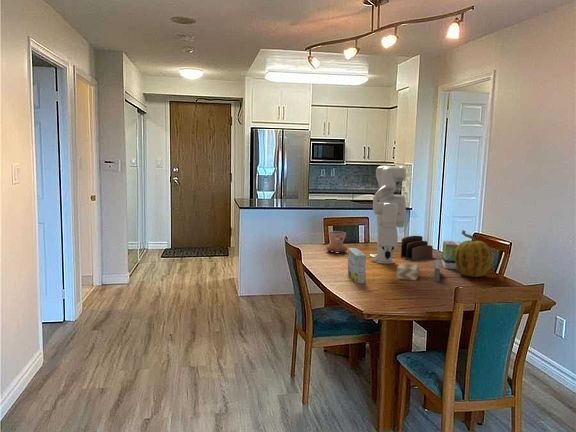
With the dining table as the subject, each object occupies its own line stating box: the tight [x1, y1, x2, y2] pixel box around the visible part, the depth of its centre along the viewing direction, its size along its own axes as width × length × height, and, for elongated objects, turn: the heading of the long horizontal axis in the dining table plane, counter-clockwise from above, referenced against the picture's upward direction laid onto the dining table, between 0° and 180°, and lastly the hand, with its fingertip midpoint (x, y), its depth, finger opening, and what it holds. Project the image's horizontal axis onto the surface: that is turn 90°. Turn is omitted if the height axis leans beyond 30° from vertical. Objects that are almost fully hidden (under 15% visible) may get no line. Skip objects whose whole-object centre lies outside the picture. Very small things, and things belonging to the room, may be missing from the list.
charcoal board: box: [433, 259, 441, 283], centre depth 259 cm, size 2×22×7 cm, turn 163°
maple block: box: [396, 263, 420, 281], centre depth 259 cm, size 10×12×6 cm
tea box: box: [441, 240, 461, 270], centre depth 286 cm, size 15×10×15 cm, turn 168°
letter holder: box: [400, 235, 434, 261], centre depth 312 cm, size 10×20×14 cm, turn 124°
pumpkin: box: [455, 229, 493, 278], centre depth 261 cm, size 19×19×25 cm
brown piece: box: [326, 230, 348, 253], centre depth 329 cm, size 18×14×14 cm
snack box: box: [347, 247, 367, 285], centre depth 253 cm, size 21×6×15 cm, turn 5°
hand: (387, 258), depth 261 cm, fingers closed
